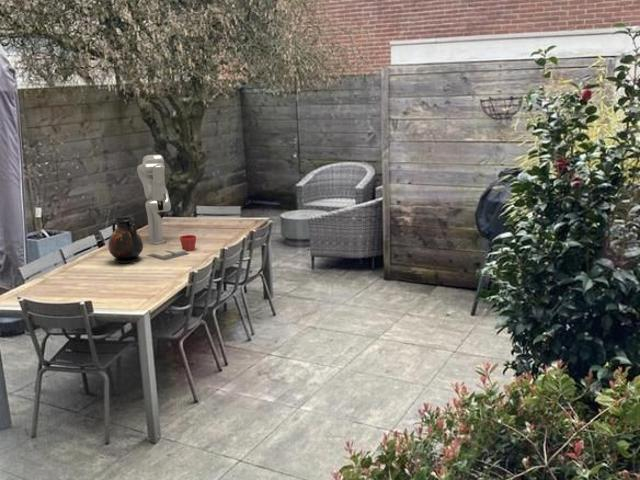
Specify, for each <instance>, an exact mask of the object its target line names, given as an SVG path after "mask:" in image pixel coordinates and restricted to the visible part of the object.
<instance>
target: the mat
mask: <svg viewBox="0 0 640 480" xmlns="http://www.w3.org/2000/svg"><path fill="white" fill-rule="evenodd" d="M164 251H165V252H167V250H164ZM153 254H154V253H152V254H147V255H146V257H150V258H153V259H157V260H161V261H169V260H171V259H176V258H180V257H184V256H188V255H190V252H189V253H188V252H185V253H184V254H180V255H176V256H175V255H172V257H168V258H164V259H161V258H157V257H154V255H153Z"/></svg>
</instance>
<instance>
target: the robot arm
mask: <svg viewBox="0 0 640 480" xmlns="http://www.w3.org/2000/svg"><path fill="white" fill-rule="evenodd" d="M136 171H137V175H138V178H139V181H141V183H142V186H143V190H144V191H143V192H144V196H145V198H146V199H147V200H146V202H145V210H146V214H147V215H146V216H147V224H148V236H147V237H146V239H148V240H147V244H149V245H160V244H164V243H166V239H165V238H164V234H163V222H162V221H163V220H162V217H161V216H160V214H159V213H166V212H169V211H171V208H172V204H171V199H170V197H169V192H168V189H167V187H166V180H165V179H166V177H165V172H166V171H165V160H164V157H163V156H162V154H147V155H145V156H143V158H142V163H141V164H138V166H137V168H136ZM150 176H152V177H150Z"/></svg>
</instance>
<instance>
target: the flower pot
mask: <svg viewBox="0 0 640 480" xmlns="http://www.w3.org/2000/svg"><path fill="white" fill-rule="evenodd" d="M179 240H180V245H181V247H182V248H181V249H182V250H185V252H191V251H194V250H195V247H196V240H197V236H196V235H193V234H186V235H181V236H179Z"/></svg>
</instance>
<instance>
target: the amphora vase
mask: <svg viewBox="0 0 640 480" xmlns="http://www.w3.org/2000/svg"><path fill="white" fill-rule="evenodd" d="M134 221H135V218H134V217H132V216H122V217H116V218H114V219H112V222H113V223H112V225H111V227H112V228H111V229H112V233H111V235H110V236H109V239H108V243H107V248H108V251H109V253H110V255H111V256H112V257H113V262H114V263H115V264H118V263H119V264H120V265H128V264H129V263H130V264H134V262H135V263H136V262H139V261H140V260H141V257H140V255H141V253H142V252H143V249H144V242H143V238H142V236H141V235H140V233H139V232H138V230H137V226H136V224H135V223H132V222H134ZM119 264H118V265H119ZM130 264H129V265H130Z"/></svg>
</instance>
